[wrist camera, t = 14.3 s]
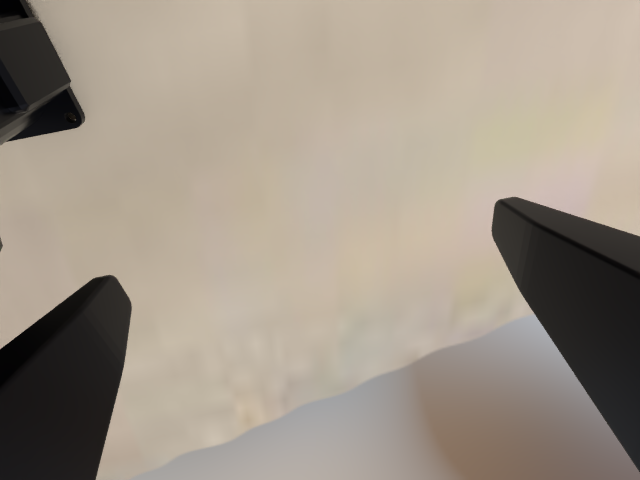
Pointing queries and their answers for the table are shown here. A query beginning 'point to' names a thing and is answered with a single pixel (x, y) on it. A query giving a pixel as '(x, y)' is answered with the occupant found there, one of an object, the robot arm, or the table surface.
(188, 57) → the table surface
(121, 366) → the robot arm
